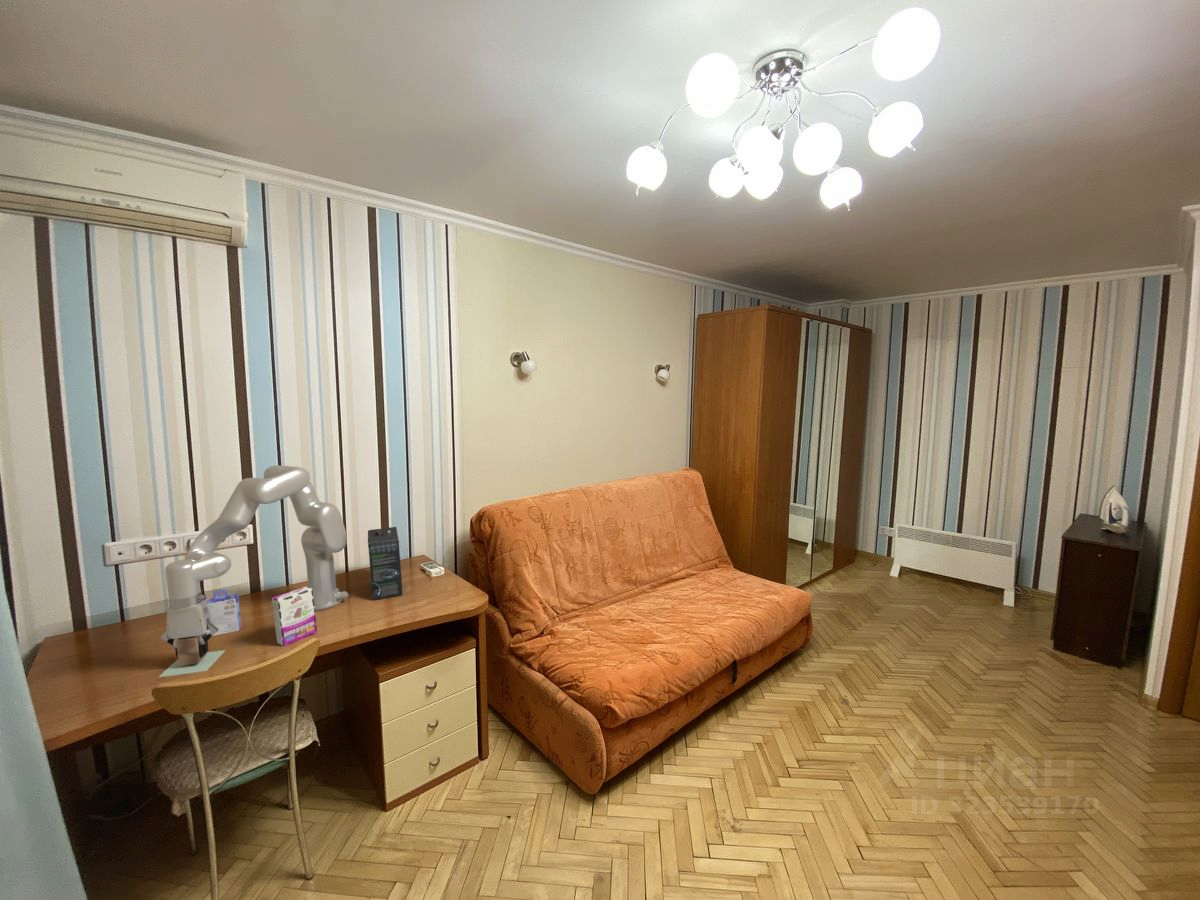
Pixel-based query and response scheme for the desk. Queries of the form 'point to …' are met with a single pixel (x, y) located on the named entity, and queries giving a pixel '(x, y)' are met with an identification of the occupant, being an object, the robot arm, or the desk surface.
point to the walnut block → (188, 651)
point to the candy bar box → (294, 615)
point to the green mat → (192, 665)
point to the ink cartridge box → (224, 612)
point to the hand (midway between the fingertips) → (192, 655)
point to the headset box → (384, 563)
